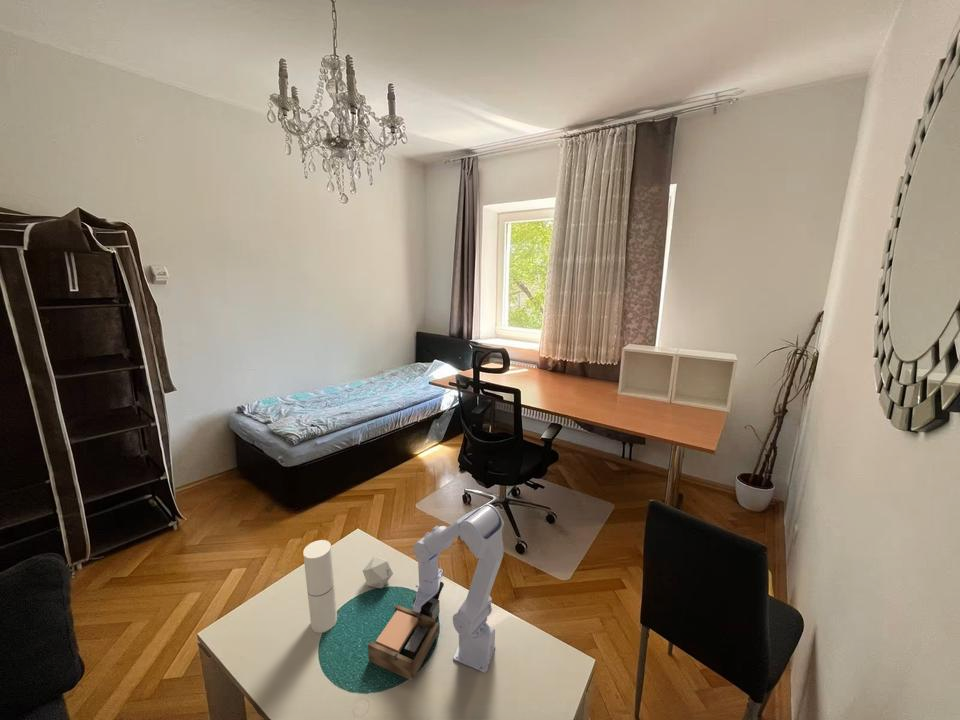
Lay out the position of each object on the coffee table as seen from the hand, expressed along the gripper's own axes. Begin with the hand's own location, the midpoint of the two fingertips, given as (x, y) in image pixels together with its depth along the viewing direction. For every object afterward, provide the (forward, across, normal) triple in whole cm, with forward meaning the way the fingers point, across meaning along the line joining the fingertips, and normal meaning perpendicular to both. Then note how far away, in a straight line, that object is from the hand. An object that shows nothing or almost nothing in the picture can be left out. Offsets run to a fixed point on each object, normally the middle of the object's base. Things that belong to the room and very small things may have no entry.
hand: (429, 612), depth 112 cm
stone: (+2, 0, 0) cm, 2 cm away
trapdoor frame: (+2, +11, -2) cm, 11 cm away
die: (+2, -5, -22) cm, 23 cm away
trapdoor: (-1, +11, -2) cm, 11 cm away
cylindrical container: (+2, +13, -28) cm, 31 cm away
